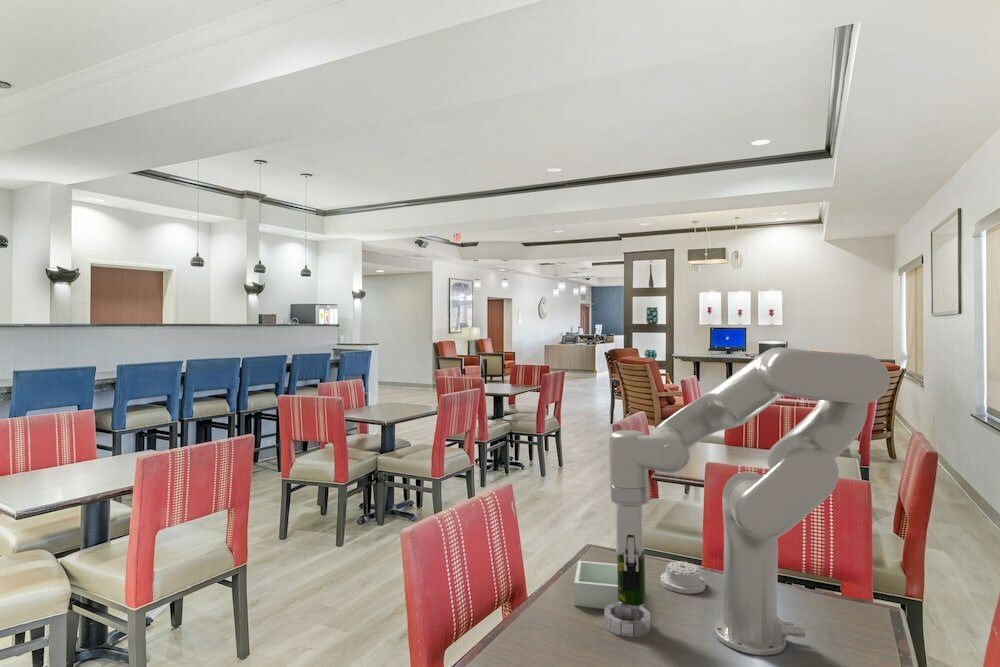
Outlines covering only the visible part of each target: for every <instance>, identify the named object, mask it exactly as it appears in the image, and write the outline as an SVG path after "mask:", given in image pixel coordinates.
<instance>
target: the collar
mask: <svg viewBox="0 0 1000 667" xmlns="http://www.w3.org/2000/svg"><path fill="white" fill-rule="evenodd" d="M620 618H629V619H633V620H632V621H631V620H623V619H620ZM651 623H652V622H651V612H650V610H648V609H647V608H645V607H644V606H643V607H641V608H638V609H630V608H626V607H623V606H622V605H621V604H620V603H619V602H617V603H611V604H609V605H608V606H606V607H605V608H604V611H603V626H604V628H606V629H607V630H608V632H610V633H612V634H615V635H618V636H620V637H624V636H627V638H639V636H640V637H643V636H646V635H648V633H650V632H651Z"/></svg>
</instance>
